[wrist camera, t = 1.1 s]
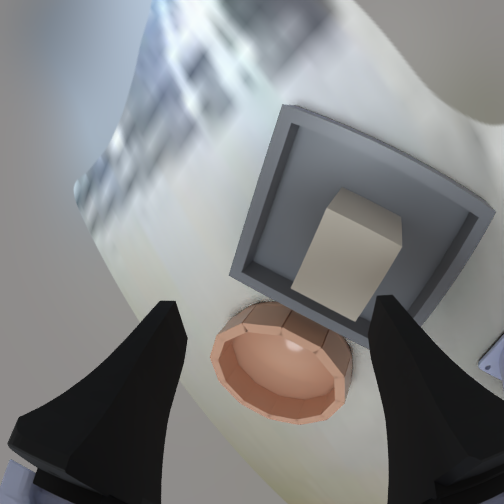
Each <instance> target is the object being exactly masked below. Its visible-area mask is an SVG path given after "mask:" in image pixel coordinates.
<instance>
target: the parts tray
mask: <svg viewBox="0 0 504 504" xmlns="http://www.w3.org/2000/svg"><path fill="white" fill-rule="evenodd" d="M342 187H343V188H345V189H347V190H349V191H351V192H353V193H356V194H358V195H360V196H362V197H364V198H366V199H368V200H370V201H372V202H374V203H375V204H377V205H379V206H381V207H383V208H385V209H387V210H389V211H391V212H393V213H395V214H396V215H398V216H400V217H401V222H402V248H401V250H400V252H399V253H398V255H397V257H396V258H395V260H394V262H393V263H392V265H391V267H390V268H389V270H388V272H387V273H386V275H385V277H384V278H383V280H382V282H381V283H380V285H379V286H378V288H377V290H376V291H375V293H374V294H373V296H372V297H371V299H370V300H369V302H368V303H367V305H366V306H365V308H364V310H363V311H362V313H361V314H360V315H359V317H358V318H357V320H356V321H355V322H354V321H353V320H351V319H349V318H347V317H345V316H343V315H341V314H339V313H337V312H335V311H333V310H331V309H329V308H327V307H325V306H324V305H322V304H320V303H318V302H316V301H314V300H312V299H310V298H308V297H306V296H304V295H302V294H300V293H299V292H297V291H295V290H293V289H291V286H292V284H293V282H294V280H295V278H296V275H297V273H298V271H299V269H300V267H301V265H302V262H303V260H304V258H305V256H306V253H307V251H308V249H309V247H310V245H311V242H312V240H313V238H314V236H315V233H316V231H317V229H318V226H319V224H320V222H321V220H322V217H323V215H324V213H325V210H326V208H327V207H328V205H329V204H330V203H331V201H332V200H333V199H334V197H335V196H336V195H337V193H338V192H339V191H340V189H341V188H342ZM495 213H496V212H495V210H494V209H493V208H492V207H491V206H490V205H489V204H488V203H487V202H486V201H485V200H484V199H482V198H481V197H479V196H478V195H476V194H475V193H473V192H472V191H470V190H468V189H467V188H465V187H464V186H462V185H461V184H459V183H457V182H456V181H454V180H452V179H451V178H449V177H447V176H446V175H444V174H442V173H441V172H439V171H437V170H435V169H434V168H432V167H430V166H428V165H427V164H425V163H423V162H421V161H419V160H417V159H416V158H414V157H412V156H410V155H408V154H406V153H404V152H402V151H400V150H398V149H396V148H394V147H392V146H390V145H388V144H386V143H384V142H382V141H380V140H378V139H376V138H374V137H371V136H369V135H367V134H365V133H363V132H360V131H358V130H356V129H354V128H351V127H349V126H347V125H344V124H342V123H340V122H337V121H335V120H332V119H330V118H327V117H325V116H322V115H320V114H317V113H314V112H312V111H309V110H306V109H304V108H301V107H298V106H295V105H283V104H282V107H281V110H280V113H279V116H278V120H277V123H276V126H275V129H274V132H273V135H272V138H271V141H270V144H269V148H268V151H267V154H266V157H265V160H264V163H263V166H262V170H261V173H260V176H259V179H258V182H257V185H256V189H255V192H254V195H253V198H252V201H251V205H250V208H249V211H248V214H247V218H246V221H245V224H244V227H243V230H242V234H241V237H240V240H239V244H238V247H237V250H236V253H235V257H234V260H233V263H232V266H231V270H230V273H229V276H231V277H232V278H234V279H236V280H238V281H240V282H242V283H243V284H245V285H247V286H249V287H251V288H253V289H254V290H256V291H258V292H260V293H262V294H264V295H265V296H267V297H269V298H271V299H273V300H275V301H277V302H279V303H280V304H282V305H284V306H286V307H288V308H290V309H292V310H294V311H295V312H297V313H299V314H301V315H303V316H305V317H307V318H309V319H311V320H313V321H315V322H316V323H318V324H320V325H322V326H324V327H326V328H328V329H330V330H332V331H334V332H336V333H338V334H340V335H342V336H344V337H346V338H348V339H350V340H352V341H353V342H355V343H357V344H359V345H361V346H363V347H365V348H367V349H369V350H370V348H369V341H368V331H369V327H370V323H371V319H372V315H373V310H374V306H375V302H376V297H377V296H378V295H393V296H394V297H395V298H396V299H397V300H398V301H399V302H400V304H401V305H402V306H403V307H404V308H405V310H406V311H407V312H408V313H409V314H410V315H411V317H412V318H413V319H414V320H415V321H416V322H417V324H418V325H419V326H420V327H421V326H422V324H423V323H424V322H425V321H426V319H427V318H428V317H429V315H430V314H431V313H432V312H433V310H434V309H435V308H436V306H437V305H438V304H439V302H440V301H441V299H442V298H443V297H444V295H445V294H446V292H447V291H448V290H449V288H450V287H451V285H452V284H453V282H454V281H455V279H456V278H457V277H458V275H459V274H460V272H461V270H462V269H463V267H464V266H465V264H466V263H467V261H468V260H469V258H470V256H471V255H472V253H473V252H474V250H475V248H476V247H477V245H478V243H479V242H480V240H481V238H482V236H483V235H484V233H485V231H486V229H487V228H488V226H489V224H490V222H491V220H492V219H493V217H494V215H495Z"/></svg>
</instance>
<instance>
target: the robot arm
mask: <svg viewBox="0 0 504 504" xmlns="http://www.w3.org/2000/svg"><path fill="white" fill-rule="evenodd" d="M187 339H188V338H187V335H186V332H185V329H184V326H183V323H182V320H181V317H180V314H179V311H178V308H177V304H176V301H159V303H158V304H157V305H156V306H155V307H154V308H153V309H152V310H151V311H150V312H149V314H148V315H147V316H146V317H145V318H144V319H143V320H142V321H141V323H140V324H139V325H138V326H137V328H135V329H134V330H133V332H132V333H131V334H130V335H129V336H128V337H127V338H126V339H125V340H124V341H123V343H121V345H119V346H118V348H117V349H116V350H115V351H114V352H113V353H112V354H111V355H110V356H109V357H108V358H107V359H106V360H104V361H103V362H102V363H101V364H100V365H99V366H98V367H97V368H96V369H94V370H93V371H92V372H91V373H90V374H89V375H87V376H86V377H85V378H84V379H82V380H81V381H80V382H78V383H77V384H75V385H74V386H73V387H71V388H70V389H69V390H67V391H66V392H64V393H63V394H61V395H60V396H58V397H57V398H55V399H53V400H52V401H50V402H48V403H47V404H45V405H43V406H41V407H39V408H38V409H35V410H33V411H31V412H29V413H27V414H25V415H23V416H20V417H19V418H18V420H17V423H16V425H15V427H14V430H13V432H12V434H11V436H10V439H9V441H8V446H9V448H10V449H12V450H13V451H14V452H15V453H17V454H18V455H19V456H21V457H22V458H24V459H25V460H27V461H28V462H30V463H31V464H33V465H34V466H36V467H37V468H38V469H37V472H36V473H35V472H33V471H31V470H30V469H28V468H26V467H24V466H22V465H20V464H18V463H17V462H15V461H13V460H12V459H11V460H9V463H8V466H7V469H6V471H5V474H4V477H3V480H2V483H1V486H0V504H161V478H162V463H163V453H164V444H165V436H166V430H167V423H168V418H169V413H170V409H171V406H172V402H173V399H174V395H175V392H176V388H177V385H178V382H179V378H180V374H181V371H182V367H183V364H184V359H185V353H186V346H187ZM368 341H369V348H370V355H371V360H372V364H373V368H374V372H375V376H376V380H377V384H378V388H379V392H380V396H381V400H382V404H383V408H384V414H385V420H386V429H387V440H388V459H389V486H388V503H387V504H504V400H502V399H501V398H499V397H498V396H496V395H494V394H493V393H492V392H490V391H489V390H487V389H486V388H485V387H483V386H482V385H481V384H479V383H478V382H477V381H475V380H474V379H473V378H472V377H470V376H469V375H468V374H467V373H466V372H464V371H463V370H462V369H461V368H460V367H459V366H458V365H457V364H456V363H454V362H453V361H452V360H451V359H450V358H449V357H448V356H447V355H446V354H445V353H444V352H443V351H442V350H441V349H440V348H439V347H438V346H437V345H436V344H435V343H434V342H433V340H432V339H431V338H430V337H429V336H428V335H427V334H426V333H425V332H424V330H423V329H422V328H421V327H420V326H419V325H418V324H417V322H416V321H415V320H414V319H413V318H412V317H411V315H410V314H409V313H408V312H407V311H406V310H405V308H404V307H403V306H402V305H401V304H400V302H399V301H398V300H397V299H396V298H395V297H394V296H393V295H378V296H377V297H376V302H375V306H374V310H373V315H372V319H371V323H370V327H369V331H368ZM488 365H489V366H488ZM486 366H487V367H486ZM478 367H479V369H481V370H483V371H484V372H486V373H488V374H490V375H492V376H494V377H496V378H498V379H500V380H502V383H503V389H504V334H503V335H502V337H501V338H500V339H499V340H498V341H497V342H496V343H495V345H494V346H493V347H492V348H491V349H490V350H489V351H488V352H487V353H486V354H485V355H484V357H483V358H482V359H481V360H480V361H479V362H478Z"/></svg>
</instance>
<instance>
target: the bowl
mask: <svg viewBox="0 0 504 504" xmlns="http://www.w3.org/2000/svg"><path fill="white" fill-rule="evenodd" d="M210 359H211V361H212V364H213V367H214V369H215V372H216V375H217V377H218V380H219V381H220V383H221V384H222V385H223V386H224V387H225V388H226V389H227V390H228V391H229V392H230V393H231V395H232V396H233V397H234V398H235V399H236V400H237V401H238V402H239V403H241V404H242V405H244V406H246V407H248V408H249V409H251V410H253V411H255V412H257V413H259V414H261V415H262V416H264V417H266V418H269V419H272V420H277V421H282V422H287V423H292V424H298V425H299V424H300V425H301V424H307V423H313V422H318V421H324V420H327V419H329V418H330V417H331V416H332V415H333V414H334V413H335V412H336V411H337V410H338V409H339V408H340V407H341V406H342V405H343V404H344V403H345V401H346V397H347V394H348V391H349V387H350V384H351V372H352V367H353V360H352V354H351V351H350V348H349V346H348V344H347V342H346V340H345V339H344V337H343V336H342V335H340V334H338V333H336V332H334V331H332V330H330V329H328V328H326V327H324V326H322V325H320V324H318V323H316V322H315V321H313V320H311V319H309V318H307V317H305V316H303V315H301V314H299V313H297V312H295V311H294V310H292V309H290V308H288V307H286V306H284V305H282V304H280V303H279V302H263V303H258V304H254V305H252V306H249V307H247V308H245V309H244V310H242V311H241V312H240V313H239V314H238V315H236V316H234V317H232V318H231V319H230V320H229V322H228V323H227V324H226V325H225V326H224V327H223V329H222V330H221V331H220V332H219V333H218V335H217V336H216V339H215V342H214V345H213V349H212V352H211V355H210Z"/></svg>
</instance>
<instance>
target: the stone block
mask: <svg viewBox="0 0 504 504" xmlns="http://www.w3.org/2000/svg"><path fill="white" fill-rule="evenodd" d="M401 248H402V222H401V217H400V216H398V215H396V214H395V213H393V212H391V211H389V210H387V209H385V208H383V207H381V206H379V205H377V204H375V203H374V202H372V201H370V200H368V199H366V198H364V197H362V196H360V195H358V194H356V193H353V192H351V191H349V190H347V189H345V188H343V187H342V188H341V189H340V191H339V192H338V193H337V195H336V196H335V197H334V199H333V200H332V201H331V203H330V204H329V205H328V207H327V208H326V210H325V213H324V215H323V217H322V220H321V222H320V224H319V226H318V229H317V231H316V233H315V236H314V238H313V240H312V242H311V245H310V247H309V249H308V251H307V253H306V256H305V258H304V260H303V262H302V265H301V267H300V269H299V271H298V273H297V275H296V278H295V280H294V282H293V284H292V286H291V289H293V290H295V291H297V292H299V293H300V294H302V295H304V296H306V297H308V298H310V299H312V300H314V301H316V302H318V303H320V304H322V305H324V306H325V307H327V308H329V309H331V310H333V311H335V312H337V313H339V314H341V315H343V316H345V317H347V318H349V319H351V320H353V321H354V322H355V321H356V320H357V318H358V317H359V315H360V314H361V313H362V311H363V310H364V308H365V306H366V305H367V303H368V302H369V300H370V299H371V297H372V296H373V294H374V293H375V291H376V290H377V288H378V286H379V285H380V283H381V282H382V280H383V278H384V277H385V275H386V273H387V272H388V270H389V268H390V267H391V265H392V263H393V262H394V260H395V258H396V257H397V255H398V253H399V252H400V250H401Z"/></svg>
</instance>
